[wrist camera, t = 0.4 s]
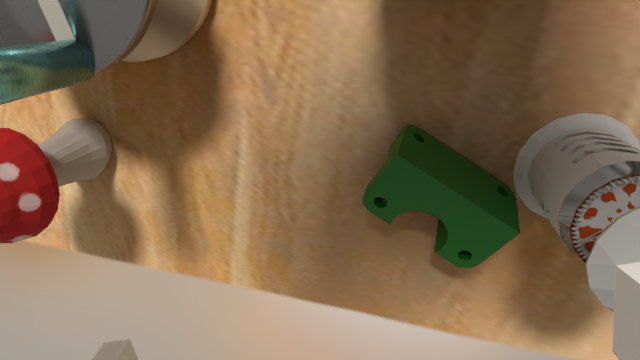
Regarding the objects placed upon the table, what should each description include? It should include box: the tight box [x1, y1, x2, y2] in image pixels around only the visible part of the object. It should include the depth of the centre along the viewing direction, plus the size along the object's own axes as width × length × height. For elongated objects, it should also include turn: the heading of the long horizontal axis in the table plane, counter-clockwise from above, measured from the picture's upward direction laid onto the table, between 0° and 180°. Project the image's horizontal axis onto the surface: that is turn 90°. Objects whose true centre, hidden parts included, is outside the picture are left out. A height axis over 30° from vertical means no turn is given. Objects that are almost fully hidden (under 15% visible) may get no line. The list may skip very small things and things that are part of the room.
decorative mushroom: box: [0, 119, 112, 243], centre depth 36 cm, size 10×9×15 cm
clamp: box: [363, 126, 520, 268], centre depth 36 cm, size 12×6×9 cm, turn 53°
